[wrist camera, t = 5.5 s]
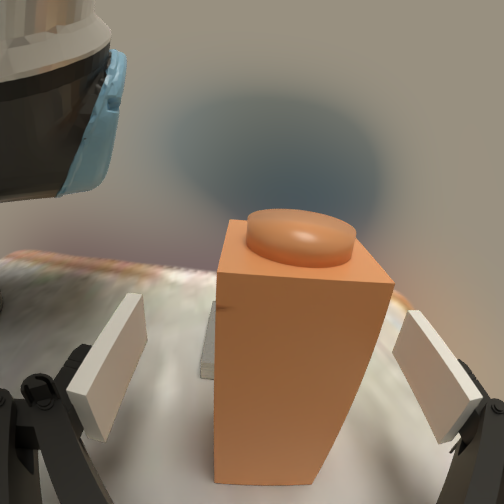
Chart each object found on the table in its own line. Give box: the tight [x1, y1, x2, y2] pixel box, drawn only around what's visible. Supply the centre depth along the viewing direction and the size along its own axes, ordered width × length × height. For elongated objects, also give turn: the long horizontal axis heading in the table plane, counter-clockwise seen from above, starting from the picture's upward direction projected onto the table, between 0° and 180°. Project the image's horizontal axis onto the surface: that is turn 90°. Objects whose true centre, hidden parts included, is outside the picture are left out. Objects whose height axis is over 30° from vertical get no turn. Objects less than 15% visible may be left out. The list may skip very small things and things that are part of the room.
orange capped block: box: [214, 209, 395, 485], centre depth 13 cm, size 5×5×13 cm
